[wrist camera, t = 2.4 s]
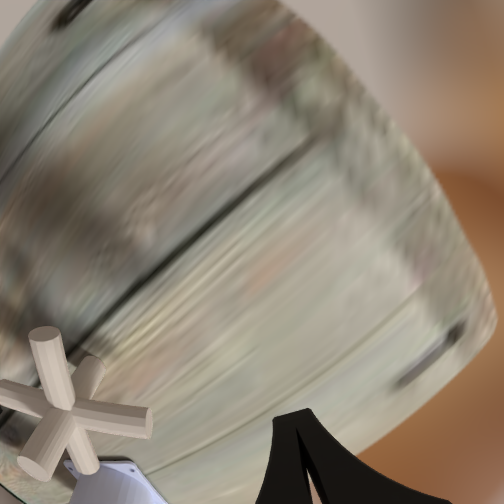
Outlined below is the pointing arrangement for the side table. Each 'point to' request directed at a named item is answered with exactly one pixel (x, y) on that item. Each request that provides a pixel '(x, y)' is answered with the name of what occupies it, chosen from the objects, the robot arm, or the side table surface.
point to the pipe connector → (67, 409)
